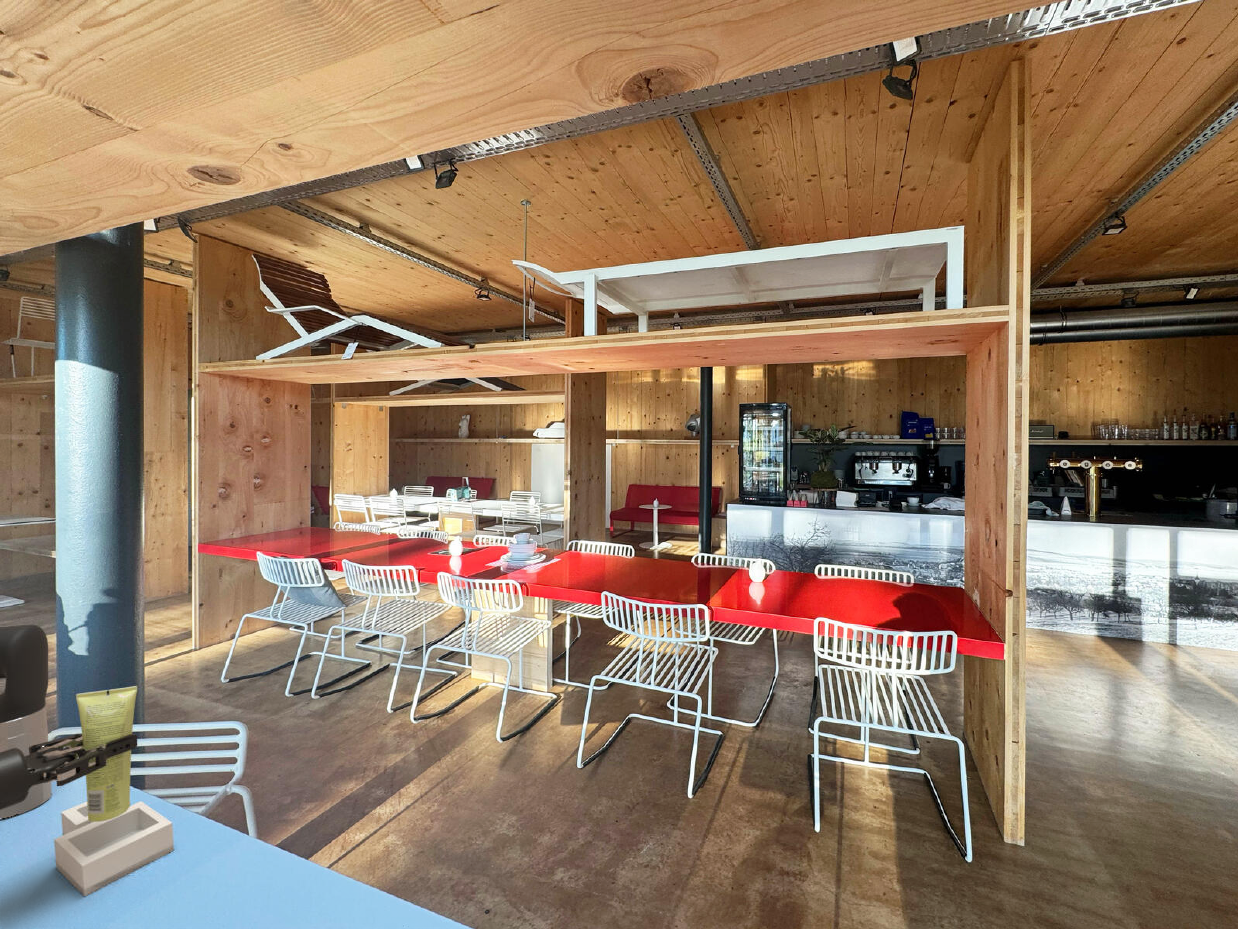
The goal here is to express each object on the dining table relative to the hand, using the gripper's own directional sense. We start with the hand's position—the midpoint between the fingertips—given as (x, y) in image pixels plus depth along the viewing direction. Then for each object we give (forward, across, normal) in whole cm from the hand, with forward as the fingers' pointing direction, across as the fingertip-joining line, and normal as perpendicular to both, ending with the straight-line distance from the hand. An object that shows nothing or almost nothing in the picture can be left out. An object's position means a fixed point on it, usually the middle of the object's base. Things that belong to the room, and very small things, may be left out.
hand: (128, 736), depth 94 cm
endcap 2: (-2, 0, +18) cm, 19 cm away
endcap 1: (-1, +11, +18) cm, 22 cm away
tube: (-3, 0, +11) cm, 12 cm away
